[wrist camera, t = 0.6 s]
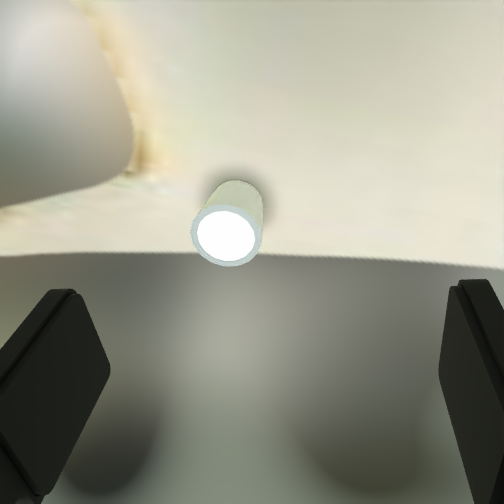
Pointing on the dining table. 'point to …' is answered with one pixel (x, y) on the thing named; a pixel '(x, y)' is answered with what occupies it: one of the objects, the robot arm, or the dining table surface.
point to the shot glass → (229, 224)
